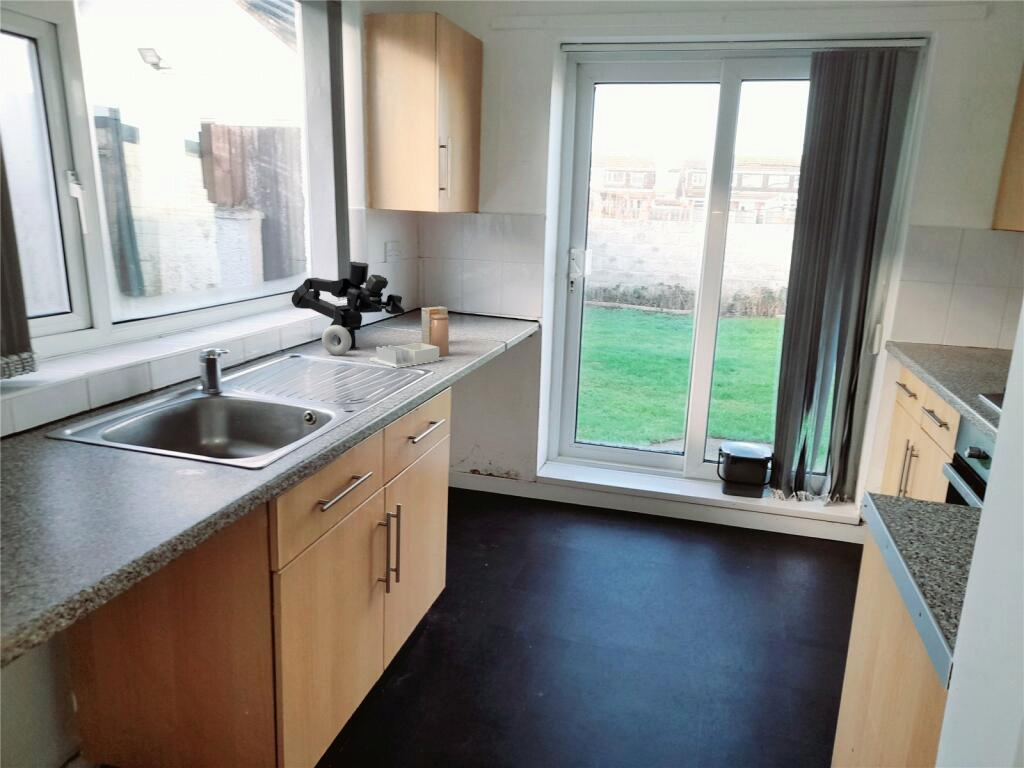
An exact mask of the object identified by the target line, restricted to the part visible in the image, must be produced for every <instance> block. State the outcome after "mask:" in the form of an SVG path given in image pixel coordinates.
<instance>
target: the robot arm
mask: <svg viewBox="0 0 1024 768" xmlns="http://www.w3.org/2000/svg"><path fill="white" fill-rule="evenodd" d="M364 285H365V287H364ZM388 285H389V281H388V280H387V277H384V276H382V275H381V274H380V275H379V274H370V275H369V263H367V262H359V261H358V262H357V261H350V262H349V275H348V277H343V278H340V279H338V280H330V279H325V278H320V277H308V278H305V279H304V281H303V283H302V284H301V285H300V286H298V287H297V288H296V289H295V291H294V292H293V294H292V295H291V302H292V305H293V306H294V307H295V308H296V309H302V310H303V309H304V310H306V309H307V310H309V309H310V310H312V311H314V312H317V313H318V314H321V315H323V316H325V317H327V318H330V319H332V320H333V321H331V323H330V326H332V325H339V326H342V327H344V328H345V329H346V330H347V331H348V332H349V334H350V336H351V340H352V342H351V347H350V349H349V350H348V351H350V350H351V349H352V350H356V349H357V350H358V349H360V346H357V341H356V331H360V330H361V327H362V322H363V315H362V314H368V313H369V314H370V313H371V314H372V313H381V312H383V309H384V311H385V313H386V314H389V315H400V314H405V311H406V310H405V308H404V307H403V306H402V301H403V298H402V296H401V295H399V294H393V293H390V294H388V295H387V297H386V301H384V300H383V296H384V293H383V292H382V291H383V289H386V288H387V287H388ZM321 292H323V293H324V292H325V293H329V294H331V296H333V297H335V298H339V299H340V298H341V299H342V298H346V304H341V305H335V304H333V303H332V302H328V301H326V300H324V299H321V298H320V297H321ZM336 339H337V341H336V343H337V344H336V345H340V343H341V339H340V337H339V336H337V335H336Z"/></svg>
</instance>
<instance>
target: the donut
mask: <svg viewBox="0 0 1024 768" xmlns="http://www.w3.org/2000/svg"><path fill="white" fill-rule="evenodd" d="M334 336H336V337H337V336H339V337H340V339H341V343H340V345H337V344H335V343H334V341H333V339H334ZM351 342H352V340H351V336H350V334H349V332H348V331H347V330H346V329H345V328H344V327H342V326H339V325H332V326H328V327H326V328H325V330H324V331H323V333H322V335H321V344H322V346H323V348H324V349H325V350H326V351H327V353H329V354H331V355H333V354H334V356H342V355H345V354H347V352H349V351H350V350H349V349H350V347H351Z"/></svg>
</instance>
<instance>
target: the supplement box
mask: <svg viewBox="0 0 1024 768" xmlns="http://www.w3.org/2000/svg"><path fill="white" fill-rule="evenodd" d="M448 311H449V310H448V307H446V306H431V307H421V343H424V344H429V345H432V323H431V316H432V315H448ZM448 316H449V315H448Z"/></svg>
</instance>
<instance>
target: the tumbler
mask: <svg viewBox="0 0 1024 768" xmlns="http://www.w3.org/2000/svg"><path fill="white" fill-rule="evenodd" d="M449 319H450V316H449V315H432V316H431V323H432V345H433V346H437V347H439V356H444V357H448V356H449V355H450V353H449V352H450V346H449V345H450V341H449V339H450V337H449V336H450V335H449V332H450V331H449V329H450V326H449V325H450V323H449V322H450V321H449Z"/></svg>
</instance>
